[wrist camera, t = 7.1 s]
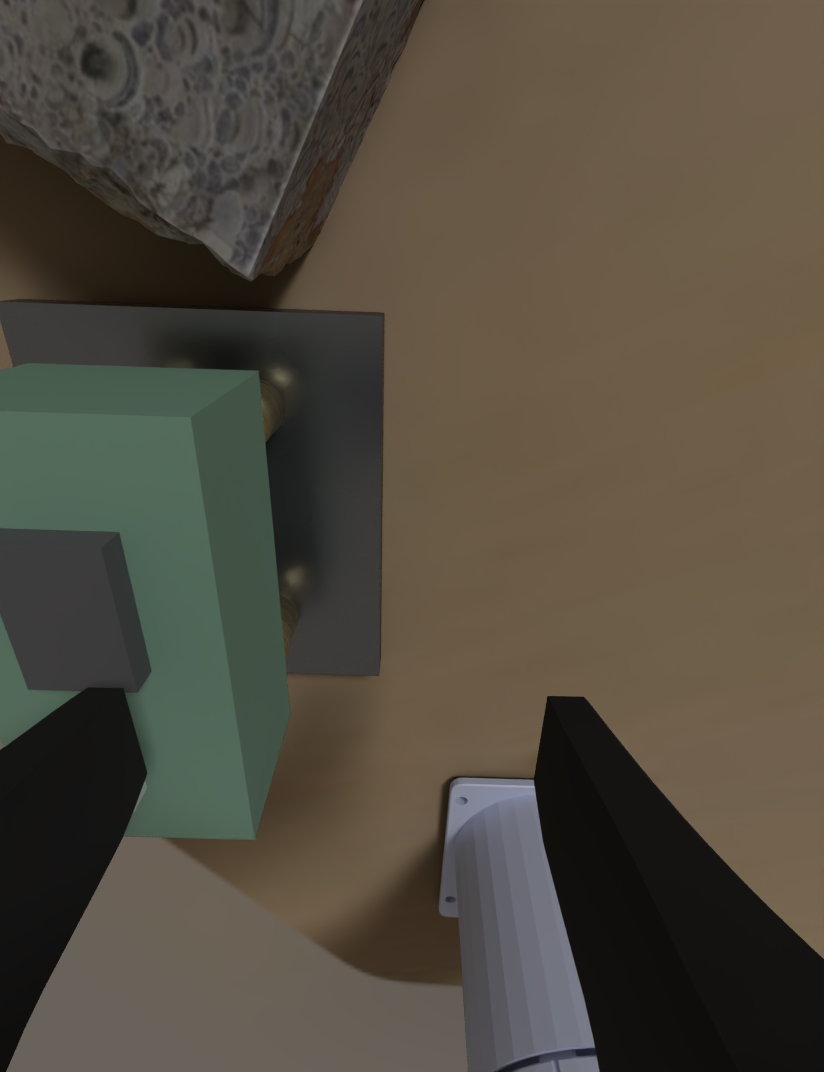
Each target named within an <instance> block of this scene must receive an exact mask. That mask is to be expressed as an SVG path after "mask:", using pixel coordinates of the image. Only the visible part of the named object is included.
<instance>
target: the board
mask: <svg viewBox="0 0 824 1072" xmlns="http://www.w3.org/2000/svg"><path fill="white" fill-rule="evenodd" d="M88 687H97V688H124V692H125V695H126V699H127V702H128V706H129V709H130V713H131V716H132V720H133V724H134V727H135V731H136V734H137V738H138V741H139V745H140V748H141V752H142V755H143V759H144V762H145V766H146V769H147V776H146V779H145V782H144V784H143V787H142V790H141V793H140V795H139V798H138V801H137V804H136V806H135V809H134V811H133V814H132V816H131V819H130V821H129V824H128V826H127V829H126V831H125V834H124V836H132V837H134V836H135V837H167V838H203V839H239V840H255V838H256V834H257V830H258V827H259V823H260V820H261V816H262V813H263V809H264V805H265V802H266V798H267V795H268V791H269V788H270V784H271V781H272V777H273V773H274V770H275V766H276V763H277V759H278V756H279V752H280V749H281V745H282V741H283V738H284V734H285V731H286V727H287V724H288V720H289V717H290V706H289V695H288V684H287V673H286V662H285V651H284V641H283V630H282V619H281V608H280V597H279V586H278V575H277V565H276V554H275V543H274V532H273V521H272V510H271V500H270V489H269V478H268V467H267V456H266V445H265V434H264V424H263V413H262V402H261V391H260V380H259V371H250V370H220V369H190V368H160V367H130V366H100V365H70V364H40V363H27V364H23V365H19V366H15V367H11V368H7V369H4V370H0V738H1V741H2V743H3V746H4V747H5V746H7V745H8V744H9V743H11V742H12V741H13V740H15V739H16V738H17V737H19V736H20V735H22V734H23V733H24V732H26V731H27V730H28V729H30V728H31V727H32V726H34V725H35V724H37V723H38V722H39V721H41V720H42V719H43V718H45V717H46V716H48V715H49V714H50V713H52V712H53V711H54V710H56V709H57V708H59V707H60V706H61V705H63V704H64V703H66V702H67V701H68V700H70V699H71V698H73V697H74V696H76V695H77V694H79V693H80V692H82V691H83V690H85V689H86V688H88Z"/></svg>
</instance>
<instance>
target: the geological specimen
mask: <svg viewBox="0 0 824 1072" xmlns="http://www.w3.org/2000/svg"><path fill="white" fill-rule="evenodd" d="M422 2H423V0H0V134H1V136H2V137H3V139H4V140H5V141H6V143H7V144H12V145H16V146H21V147H26V148H28V149H30V150H32V151H33V152H34V153H35V154H36V155H38V156H40V157H42V158H43V159H45V160H47V161H49V162H50V163H52V164H54V165H56V166H57V167H59V168H61V169H62V170H63V171H65V172H66V173H67V174H68V175H69V176H70V177H71V178H72V179H73V180H74V181H75V182H76V183H78V184H80V185H81V186H83V187H85V188H86V189H87V190H89V191H90V192H91V193H92V194H94V195H95V196H96V197H98V198H99V199H100V200H102V201H103V202H104V203H106V204H107V205H108V206H110V207H111V208H113V209H114V210H115V211H117V212H118V213H120V214H121V215H123V216H126V217H128V218H131V219H134V220H136V221H137V222H139V223H140V224H141V225H143V226H144V227H145V228H147V229H148V230H150V231H152V232H153V233H155V234H157V235H158V236H162V237H166V238H170V239H174V240H178V241H182V242H186V243H187V244H204V245H205V246H206V247H207V248H208V249H209V251H210V252H211V253H212V254H213V255H214V256H215V258H216V259H217V260H218V261H219V262H220V263H221V265H223V266H225V267H227V268H228V269H229V270H230V272H231V273H234V274H236V275H238V276H240V277H242V278H244V279H246V280H248V281H250V282H251V281H253V280H254V279H255V278H256V277H258V276H259V275H261V274H264V275H268V276H276V275H277V274H278V273H279V272H281V271H282V270H283V268H284V267H285V265H286V264H291V263H292V262H293V261H294V260H297V259H298V258H300V257H301V256H302V255H303V254H304V253H305V252H306V251H307V250H308V249H309V248H311V247H312V246H313V244H314V242H315V240H316V239H317V237H318V235H319V233H320V231H321V229H322V227H323V225H324V222H325V220H326V218H327V216H328V214H329V212H330V209H331V207H332V205H333V203H334V201H335V199H336V196H337V194H338V192H339V190H340V187H341V184H342V182H343V180H344V178H345V176H346V174H347V172H348V170H349V167H350V165H351V163H352V161H353V159H354V157H355V155H356V153H357V150H358V148H359V145H360V144H361V142H362V140H363V137H364V135H365V133H366V130H367V128H368V126H369V124H370V122H371V119H372V117H373V115H374V113H375V111H376V109H377V107H378V105H379V103H380V100H381V98H382V96H383V94H384V91H385V89H386V87H387V84H388V82H389V79H390V75H391V71H392V67H393V65H394V63H395V62H396V60H397V59H398V57H399V55H400V54H401V52H402V51H403V49H404V48H405V45H406V43H407V40H408V37H409V35H410V32H411V30H412V27H413V25H414V22H415V20H416V17H417V15H418V12H419V8H420V5H421V3H422Z"/></svg>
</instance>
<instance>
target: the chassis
mask: <svg viewBox="0 0 824 1072" xmlns="http://www.w3.org/2000/svg"><path fill="white" fill-rule="evenodd" d="M0 320H1V324H2V328H3V331H4V335H5V338H6V342H7V345H8V349H9V352H10V356H11V359H12V363H13V366H14V367H15V366H19V365H23V364H27V363H40V364H70V365H100V366H130V367H160V368H190V369H220V370H250V371H259V380H260V391H261V402H262V413H263V424H264V434H265V445H266V456H267V467H268V478H269V489H270V500H271V510H272V521H273V532H274V543H275V554H276V565H277V575H278V586H279V597H280V608H281V619H282V630H283V641H284V651H285V662H286V673H305V674H337V675H368V676H379V672H380V661H381V592H382V498H383V405H384V313H378V312H351V311H324V310H297V309H271V308H244V307H217V306H191V305H164V304H137V303H110V302H84V301H57V300H30V299H16V300H5V301H0Z"/></svg>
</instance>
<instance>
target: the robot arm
mask: <svg viewBox="0 0 824 1072" xmlns="http://www.w3.org/2000/svg"><path fill="white" fill-rule="evenodd" d="M146 776H147V769H146V766H145V762H144V759H143V755H142V752H141V748H140V745H139V741H138V738H137V734H136V731H135V727H134V724H133V720H132V716H131V713H130V709H129V706H128V702H127V699H126V695H125V692H124V688H97V687H88V688H86V689H85V690H83V691H82V692H80V693H79V694H77V695H76V696H74V697H73V698H71V699H70V700H68V701H67V702H66V703H64V704H63V705H61V706H60V707H59V708H57V709H56V710H54V711H53V712H52V713H50V714H49V715H48V716H46V717H45V718H43V719H42V720H41V721H39V722H38V723H37V724H35V725H34V726H32V727H31V728H30V729H28V730H27V731H26V732H24V733H23V734H22V735H20V736H19V737H17V738H16V739H15V740H13V741H12V742H11V743H9V744H8V745H7V746H5V747H4V748H2V749H1V750H0V1072H6V1070H7V1068H8V1066H9V1064H10V1061H11V1059H12V1057H13V1054H14V1052H15V1050H16V1047H17V1045H18V1043H19V1040H20V1038H21V1036H22V1033H23V1031H24V1028H25V1027H26V1024H27V1022H28V1020H29V1018H30V1016H31V1014H32V1012H33V1010H34V1008H35V1006H36V1004H37V1002H38V1000H39V998H40V995H41V993H42V991H43V989H44V987H45V985H46V983H47V982H48V980H49V978H50V976H51V974H52V972H53V970H54V968H55V967H56V965H57V963H58V961H59V959H60V957H61V955H62V953H63V951H64V949H65V948H66V946H67V944H68V942H69V940H70V938H71V936H72V934H73V932H74V930H75V928H76V927H77V925H78V923H79V921H80V919H81V917H82V915H83V913H84V911H85V909H86V908H87V906H88V904H89V902H90V900H91V898H92V896H93V894H94V892H95V890H96V889H97V887H98V885H99V883H100V881H101V879H102V877H103V875H104V873H105V871H106V869H107V867H108V865H109V863H110V862H111V860H112V858H113V856H114V854H115V852H116V850H117V848H118V846H119V844H120V842H121V840H122V838H123V836H124V834H125V831H126V829H127V826H128V824H129V821H130V819H131V816H132V814H133V811H134V809H135V806H136V804H137V801H138V798H139V795H140V793H141V790H142V787H143V784H144V782H145V779H146ZM439 913H440V914H441V915H442V916H445V917H458V921H459V937H460V953H461V969H462V985H463V1001H464V1017H465V1032H466V1048H467V1063H468V1072H824V959H823V958H822V957H821V956H820V955H819V954H818V953H817V952H815V951H814V950H813V949H812V948H811V947H810V946H809V945H808V944H807V943H806V942H805V941H804V940H803V939H802V938H801V937H800V936H798V935H797V934H796V933H795V932H794V931H793V930H792V929H791V928H790V927H789V926H788V925H787V924H786V923H785V922H784V921H783V920H782V919H781V918H780V917H779V916H778V915H776V914H775V913H774V912H773V911H772V910H771V909H770V908H769V907H768V906H767V905H766V904H765V903H764V902H763V901H762V900H761V899H760V898H759V897H758V896H757V895H756V894H755V893H754V892H753V891H752V890H751V889H750V888H749V887H748V886H747V885H746V884H745V883H744V882H743V881H742V880H741V879H740V877H739V876H738V875H737V874H736V873H735V872H734V871H733V870H732V869H731V868H730V867H729V866H728V865H727V864H726V863H725V862H724V861H723V860H722V859H721V858H720V856H719V855H718V854H717V853H716V852H715V851H714V850H713V849H712V848H711V847H710V846H709V845H708V844H707V843H706V842H705V841H704V839H703V838H702V837H701V836H700V835H699V834H698V833H697V832H696V831H695V830H694V828H693V827H692V826H691V825H690V824H689V823H688V822H687V821H686V820H685V818H684V817H683V816H682V815H681V814H680V813H679V812H678V810H677V809H676V808H675V807H674V806H673V805H672V803H671V802H670V801H669V800H668V799H667V798H666V797H665V795H664V794H663V793H662V792H661V791H660V790H659V788H658V787H657V786H656V785H655V784H654V783H653V782H652V780H651V779H650V778H649V777H648V776H647V774H646V773H645V772H644V771H643V770H642V768H641V767H640V766H639V765H638V763H637V762H636V761H635V760H634V759H633V757H632V756H631V755H630V754H629V752H628V751H627V750H626V749H625V747H624V746H623V745H622V744H621V743H620V741H619V740H618V739H617V737H616V736H615V735H614V734H613V732H612V731H611V730H610V729H609V727H608V726H607V725H606V724H605V722H604V721H603V720H602V718H601V717H600V716H599V715H598V713H597V712H596V711H595V710H594V708H593V707H592V706H591V704H590V703H589V702H588V701H587V700H586V699H585V698H584V697H566V696H548V697H547V703H546V709H545V715H544V721H543V727H542V733H541V739H540V745H539V751H538V757H537V764H536V770H535V776H534V780H528V779H495V778H463V777H462V778H457V779H454V780H453V781H452V782H451V784H450V789H449V800H448V810H447V821H446V832H445V842H444V853H443V863H442V874H441V884H440V895H439Z"/></svg>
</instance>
